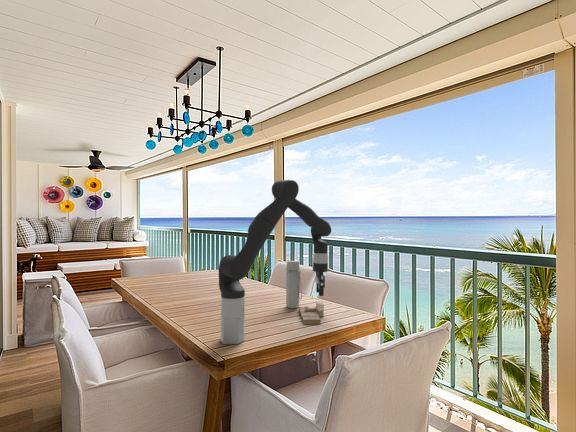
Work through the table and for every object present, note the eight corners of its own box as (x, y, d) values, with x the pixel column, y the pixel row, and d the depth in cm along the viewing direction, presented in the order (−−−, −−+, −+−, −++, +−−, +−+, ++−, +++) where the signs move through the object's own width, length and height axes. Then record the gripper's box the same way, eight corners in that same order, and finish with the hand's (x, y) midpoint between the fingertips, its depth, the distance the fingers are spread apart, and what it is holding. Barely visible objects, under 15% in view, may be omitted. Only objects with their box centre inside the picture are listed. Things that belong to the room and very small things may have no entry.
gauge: (323, 316, 162) (323, 304, 162) (305, 316, 161) (305, 304, 161) (322, 313, 167) (322, 301, 167) (304, 313, 166) (304, 301, 166)
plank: (320, 324, 149) (320, 319, 149) (303, 324, 149) (303, 319, 149) (314, 310, 171) (314, 306, 171) (298, 310, 171) (299, 306, 171)
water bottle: (283, 307, 176) (283, 261, 177) (290, 304, 183) (290, 260, 184) (298, 310, 172) (298, 262, 172) (304, 306, 179) (305, 261, 179)
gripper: (330, 263, 158) (329, 297, 157) (325, 260, 172) (324, 291, 172) (315, 263, 157) (314, 297, 157) (311, 260, 172) (310, 291, 171)
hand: (319, 294), depth 164 cm, fingers open, 8 cm apart
